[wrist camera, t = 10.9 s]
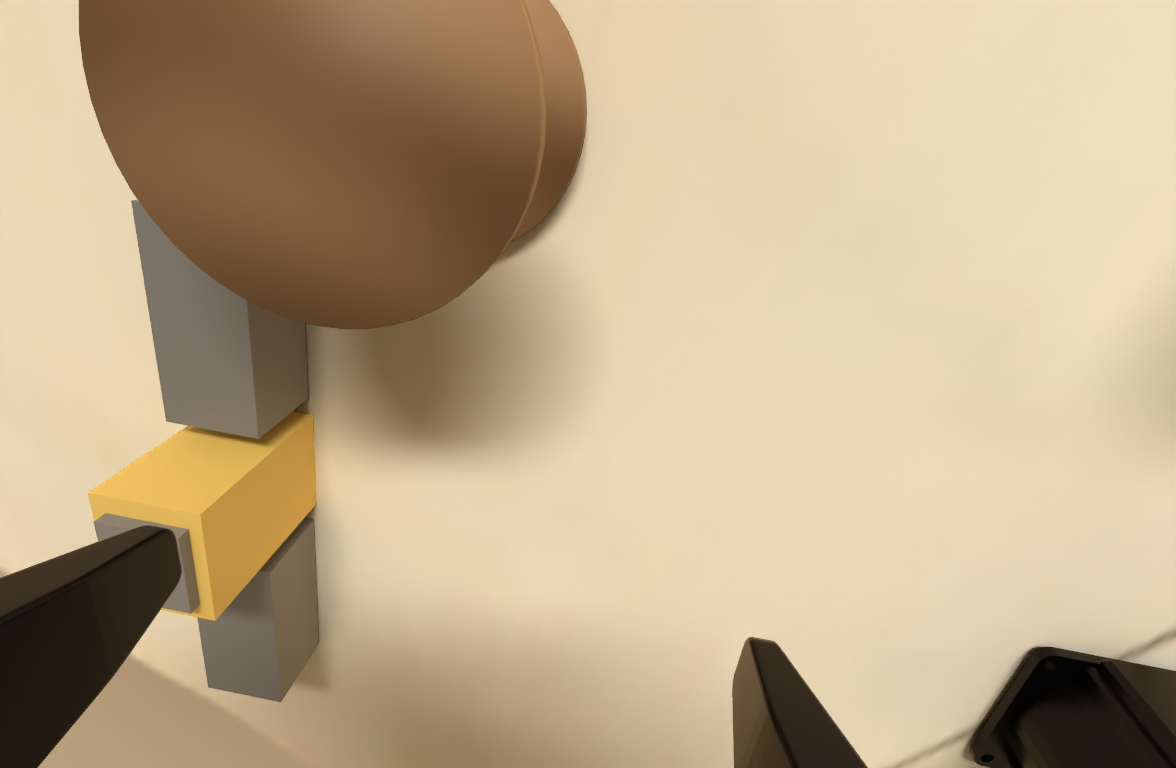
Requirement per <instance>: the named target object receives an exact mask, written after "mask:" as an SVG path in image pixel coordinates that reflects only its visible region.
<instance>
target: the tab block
mask: <svg viewBox="0 0 1176 768" xmlns="http://www.w3.org/2000/svg"><path fill="white" fill-rule="evenodd" d="M88 495H89V500H90V504H91V508H92V512H93V517H94V525H95V530H96V534H97V538H98V542H99V541H102V540H104V539H107V538H110V537H112V536H115V535H118V534H120V533H123V532H126V531H129V530H131V529H134V528H137V527H139V526H143V525H151V526H157V527H162V528H167V529H170V530H172V531H173V532H174V534H175V536H176V540H177V545H178V550H179V555H180V561H181V566H182V575H181V578H180V581H179V583H178V585H177V587H176V588H175V590H174V591H173V592H172V594H171V595H170V597H169V598H168V600H167V601H166V602H165V604H164V605H163V607H162V608H161V610H164V611H169V612H174V613H179V614H184V615H189V616H194V617H199V618H204V619H209V620H214V621H216V620H217V618H218V617H219V616H220V615H221V614H222V613H223V611H224V610H225V609H226V608H227V607H228V606H229V605H230V603H231V602H232V601H233V600H234V599H235V598H236V596H237V595H238V594H239V593H240V592H241V591H242V590H243V588H244V587H245V586H246V585H247V584H248V583H249V581H250V580H251V579H252V578H253V577H254V576H255V575H256V573H257V572H258V571H259V570H260V569H261V568H262V566H263V565H264V564H265V563H266V562H267V561H268V559H269V558H270V557H271V556H272V555H273V554H274V553H275V551H276V550H277V549H278V548H279V547H280V546H281V544H282V543H283V542H284V541H285V540H286V539H287V538H288V536H289V535H290V534H291V533H292V532H293V531H294V529H295V528H296V527H297V526H298V525H299V524H300V523H301V521H302V520H303V519H304V518H305V517H306V516H307V514H308V513H309V512H310V511H311V510H312V509H313V507H314V506H315V505H316V504H317V501H316V476H315V452H314V427H313V415H310V414H304V413H299V412H294V411H292V412H291V413H290V414H288V415H287V416H286V417H285V418H284V419H282V420H281V421H280V422H279V423H278V424H276V425H275V426H274V427H273V428H271V429H270V430H269V431H268V432H267V433H265V434H264V435H263V436H262V437H260V438H259V439H256V438H251V437H245V436H240V435H235V434H230V433H225V432H219V431H214V430H209V429H204V428H199V427H193V426H187V427H185V428H184V429H183V430H181V431H180V432H178V433H177V434H175V435H174V436H172V437H171V438H169V439H168V440H166V441H165V442H163V443H162V444H160V445H159V446H157V447H156V448H154V449H153V450H151V451H150V452H148V453H147V454H145V455H144V456H142V457H141V458H139V459H138V460H136V461H135V462H133V463H132V464H130V465H129V466H127V467H126V468H124V469H123V470H121V471H120V472H118V473H117V474H115V475H114V476H112V477H111V478H109V479H108V480H106V481H105V482H103V483H102V484H100V485H99V486H97V487H96V488H94V489H93V490H91V491H90V492H88Z"/></svg>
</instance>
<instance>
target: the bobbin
mask: <svg viewBox="0 0 1176 768" xmlns="http://www.w3.org/2000/svg"><path fill="white" fill-rule="evenodd" d="M79 35H80V43H81V51H82V60H83V67H84V72H85V76H86V80H87V85H88V89H89V93H90V98H91V101H92V104H93V107H94V110H95V113H96V116H97V119H98V122H99V125H100V128H101V131H102V133H103V136H104V138H105V140H106V142H107V144H108V147H109V149H110V151H111V153H112V155H113V158H114V160H115V162H116V164H117V166H118V167H119V169H120V171H121V173H122V174H123V176H124V178H125V180H126V181H127V183H128V185H129V187H130V189H131V190H132V192H133V193H134V195H135V196H136V198H137V199H138V200H139V202H140V203H141V205H142V206H143V208H144V209H145V210H146V212H147V213H148V215H149V216H150V217H151V219H152V220H153V221H154V222H155V223H156V225H157V226H158V227H159V228H160V229H161V230H162V232H163V233H164V234H165V235H166V236H167V237H168V239H169V240H170V241H171V242H172V243H173V244H174V245H175V246H176V247H177V248H178V249H179V250H180V251H181V252H182V253H183V254H184V255H185V256H186V257H187V258H188V259H190V260H191V261H192V262H193V263H194V264H195V265H196V266H198V267H199V268H200V269H201V270H203V271H204V272H205V273H206V274H208V275H209V276H210V277H211V278H213V279H214V280H215V281H216V282H218V283H219V284H221V285H223V286H224V287H226V288H227V289H229V290H230V291H232V292H233V293H235V294H237V295H238V296H240V297H241V298H243V299H245V300H247V301H249V302H251V303H253V304H255V305H257V306H259V307H261V308H263V309H265V310H268V311H270V312H273V313H275V314H278V315H281V316H283V317H286V318H289V319H292V320H296V321H300V322H304V323H308V324H312V325H316V326H323V327H331V328H339V329H369V328H377V327H384V326H391V325H395V324H399V323H402V322H406V321H409V320H413V319H416V318H418V317H421V316H423V315H425V314H427V313H430V312H432V311H434V310H436V309H438V308H440V307H442V306H443V305H445V304H446V303H448V302H450V301H451V300H453V299H454V298H456V297H457V296H459V295H460V294H461V293H463V292H464V291H465V290H466V289H467V288H468V287H470V286H471V285H472V284H473V283H474V282H475V281H477V280H478V279H479V278H480V277H481V276H482V275H483V274H484V273H485V272H486V271H487V270H488V269H489V268H490V267H491V266H492V265H493V264H494V262H495V261H496V260H497V259H498V258H499V257H500V255H501V254H502V253H503V252H504V251H505V249H506V248H507V246H508V245H509V243H510V242H511V241H513V240H515V239H517V238H518V237H520V236H522V235H523V234H525V233H526V232H528V231H529V230H530V229H532V228H533V227H534V226H535V225H536V224H537V223H539V222H540V221H541V220H542V219H543V218H544V217H545V216H546V215H547V214H548V213H549V212H550V211H551V209H552V208H553V207H554V206H555V205H556V204H557V202H558V201H559V199H560V198H561V196H562V195H563V193H564V192H565V190H566V189H567V187H568V185H569V183H570V181H571V179H572V177H573V175H574V173H575V170H576V167H577V164H578V161H579V158H580V156H581V152H582V147H583V142H584V137H585V129H586V118H587V107H586V90H585V84H584V77H583V72H582V68H581V65H580V61H579V57H578V54H577V51H576V48H575V46H574V43H573V41H572V38H571V36H570V34H569V31H568V30H567V28H566V26H565V24H564V22H563V21H562V19H561V17H560V15H559V13H558V12H557V11H556V9H555V8H554V6H553V5H552V4H551V2H550V1H549V0H79Z"/></svg>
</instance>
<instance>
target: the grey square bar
mask: <svg viewBox="0 0 1176 768" xmlns="http://www.w3.org/2000/svg"><path fill="white" fill-rule="evenodd" d="M132 208H133V214H134V220H135V227H136V233H137V239H138V246H139V252H140V258H141V265H142V271H143V277H144V284H145V290H146V296H147V302H148V309H149V315H150V321H151V328H152V334H153V340H154V347H155V353H156V359H157V366H158V372H159V378H160V384H161V391H162V397H163V403H164V410H165V416H166V421H168V422H173V423H178V424H183V425H188V426H193V427H199V428H204V429H209V430H214V431H219V432H225V433H230V434H235V435H240V436H245V437H251V438H256V439H259V438H260V437H262V436H263V435H264V434H265V433H267V432H268V431H269V430H270V429H271V428H273V427H274V426H275V425H276V424H278V423H279V422H280V421H281V420H282V419H284V418H285V417H286V416H287V415H288V414H290V413H291V412H292V411H293V410H295V409H296V408H297V407H298V406H299V405H301V404H302V403H303V402H304V401H306V400H307V399H308V398H309V397H308V374H307V351H306V327H305V323H304V322H300V321H296V320H292V319H289V318H286V317H283V316H281V315H278V314H275V313H273V312H270V311H268V310H265V309H263V308H261V307H259V306H257V305H255V304H253V303H251V302H249V301H247V300H245V299H243V298H241V297H240V296H238V295H237V294H235V293H233V292H232V291H230V290H229V289H227V288H226V287H224V286H223V285H221V284H219V283H218V282H216V281H215V280H214V279H213V278H211V277H210V276H209V275H208V274H206V273H205V272H204V271H203V270H201V269H200V268H199V267H198V266H196V265H195V264H194V263H193V262H192V261H191V260H190V259H188V258H187V257H186V256H185V255H184V254H183V253H182V252H181V251H180V250H179V249H178V248H177V247H176V246H175V245H174V244H173V243H172V242H171V241H170V240H169V239H168V237H167V236H166V235H165V234H164V233H163V232H162V230H161V229H160V228H159V227H158V226H157V225H156V223H155V222H154V221H153V220H152V219H151V217H150V216H149V215H148V213H147V212H146V210H145V209H144V208H143V206H142V205H141V203H140V202H139V200H132ZM197 618H198V624H199V631H200V637H201V643H202V650H203V656H204V662H205V668H206V675H207V681H208V687H209V688H214V689H219V690H224V691H229V692H234V693H239V694H244V695H249V696H254V697H259V698H264V699H269V700H273V701H278V702H281V701H282V700H283V698H284V697H285V695H286V693H287V692H288V690H289V689H290V687H291V685H292V684H293V682H294V681H295V679H296V678H297V676H298V674H299V673H300V671H301V670H302V668H303V667H304V665H305V663H306V662H307V660H308V659H309V657H310V656H311V654H312V652H313V651H314V649H315V648H316V646H317V644H318V643H319V630H318V607H317V584H316V560H315V537H314V520H310V519H305V518H304V519H303V520H302V521H301V523H300V524H299V525H298V526H297V527H296V528H295V529H294V531H293V532H292V533H291V534H290V535H289V536H288V538H287V539H286V540H285V541H284V542H283V543H282V544H281V546H280V547H279V548H278V549H277V550H276V551H275V553H274V554H273V555H272V556H271V557H270V558H269V559H268V561H267V562H266V563H265V564H264V565H263V566H262V568H261V569H260V570H259V571H258V572H257V573H256V575H255V576H254V577H253V578H252V579H251V580H250V581H249V583H248V584H247V585H246V586H245V587H244V588H243V590H242V591H241V592H240V593H239V594H238V595H237V596H236V598H235V599H234V600H233V601H232V602H231V603H230V605H229V606H228V607H227V608H226V609H225V610H224V611H223V613H222V614H221V615H220V616H219V617H218V618H217V620H216V621H214V620H209V619H204V618H199V617H197Z"/></svg>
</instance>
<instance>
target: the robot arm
mask: <svg viewBox="0 0 1176 768" xmlns="http://www.w3.org/2000/svg"><path fill="white" fill-rule="evenodd" d="M181 575H182V566H181V561H180V555H179V550H178V545H177V540H176V536H175V534H174V532H173V531H172V530H170V529H167V528H162V527H157V526H151V525H143V526H139V527H137V528H134V529H131V530H129V531H126V532H123V533H120V534H118V535H115V536H112V537H110V538H107V539H104V540H102V541H99V542H96V543H93V544H91V545H88V546H85V547H83V548H80V549H77V550H75V551H72V552H69V553H66V554H64V555H61V556H58V557H56V558H53V559H50V560H48V561H45V562H42V563H39V564H37V565H34V566H31V567H29V568H26V569H23V570H21V571H18V572H15V573H12V574H10V575H7V576H4V577H2V578H0V768H38V766H39V765H40V764H41V763H42V761H43V760H44V759H45V758H46V757H47V756H48V754H49V753H50V752H51V751H52V750H53V749H54V747H55V746H56V745H57V744H58V743H59V741H60V740H61V739H62V738H63V737H64V735H65V734H66V733H67V732H68V731H69V729H70V728H71V727H72V725H74V723H75V722H76V721H77V720H78V718H79V717H80V716H81V715H82V714H83V712H84V711H85V710H86V709H87V708H88V706H89V705H90V704H91V703H92V702H93V701H94V699H95V698H96V697H97V696H98V695H99V693H100V692H101V691H102V690H103V689H104V687H105V686H106V685H107V683H108V682H109V681H110V680H111V679H112V677H113V676H114V675H115V673H116V672H117V671H118V669H119V668H120V666H121V665H122V664H123V662H124V661H125V660H126V658H127V657H128V655H129V654H130V653H131V651H132V650H133V648H134V647H135V645H136V644H137V643H138V641H139V640H140V638H141V637H142V635H143V634H144V633H145V631H146V630H147V628H148V627H149V625H150V624H151V622H152V621H153V620H154V618H155V617H156V615H157V614H158V612H159V611H160V610H161V608H162V607H163V605H164V604H165V602H166V601H167V600H168V598H169V597H170V595H171V594H172V592H173V591H174V590H175V588H176V587H177V585H178V583H179V581H180V578H181ZM732 697H733V740H734V768H868V767H867V766H866V765H865V763H864V762H863V760H862V759H861V758H860V756H859V755H858V754H857V752H856V751H855V749H854V748H853V747H852V745H851V744H850V743H849V741H848V740H847V739H846V737H845V736H844V734H843V733H842V732H841V730H840V729H839V728H838V726H837V725H836V723H835V722H834V721H833V719H832V718H831V717H830V715H829V714H828V712H827V711H826V710H825V708H824V707H823V706H822V704H821V703H820V701H819V700H818V699H817V697H816V696H815V695H814V693H813V692H812V691H811V689H810V688H809V686H808V685H807V684H806V682H805V681H804V680H803V678H802V677H801V675H800V674H799V673H798V671H797V670H796V669H795V667H794V666H793V664H792V663H791V662H790V660H789V659H788V658H787V656H786V655H785V653H784V652H783V651H782V649H781V648H780V647H779V645H778V644H776V643H775V642H774V641H771V640H766V639H760V638H755V637H749V638H748V639H747V640H746V641H745V643H744V646H743V649H742V652H741V655H740V658H739V661H738V665H737V668H736V671H735V674H734V678H733V688H732ZM969 750H970V753H971V755H972V757H973V759H974V761H975V762H976V763H977V764H979V765H981V766H986V767H991V768H1176V671H1172V670H1167V669H1161V668H1156V667H1151V666H1146V665H1141V664H1136V663H1131V662H1125V661H1120V660H1115V659H1110V658H1105V657H1100V656H1095V655H1090V654H1084V653H1079V652H1074V651H1069V650H1064V649H1059V648H1054V647H1043V648H1039V649H1037V650H1035V651H1034V652H1033V653H1032V655H1031V656H1030V658H1029V659H1028V661H1027V662H1026V664H1025V665H1024V667H1023V668H1022V670H1021V671H1020V673H1019V674H1018V676H1017V677H1016V679H1015V680H1014V682H1013V683H1012V685H1011V686H1010V688H1009V689H1008V691H1007V692H1006V694H1005V695H1004V697H1003V698H1002V700H1001V701H1000V703H999V704H998V706H997V707H996V709H995V710H994V712H993V713H992V715H991V716H990V718H989V719H988V721H987V722H986V724H985V725H984V727H983V728H982V730H981V731H980V733H979V734H978V736H977V737H976V739H975V740H974V742H973V743H972V745H971V746H970V749H969Z"/></svg>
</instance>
